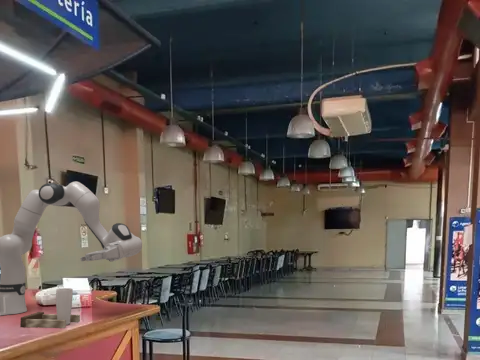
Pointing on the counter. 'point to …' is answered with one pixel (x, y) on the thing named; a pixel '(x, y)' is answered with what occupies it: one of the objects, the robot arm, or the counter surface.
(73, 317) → the brown compartment tray
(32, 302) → the counter surface
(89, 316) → the counter surface
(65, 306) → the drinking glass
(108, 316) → the counter surface
